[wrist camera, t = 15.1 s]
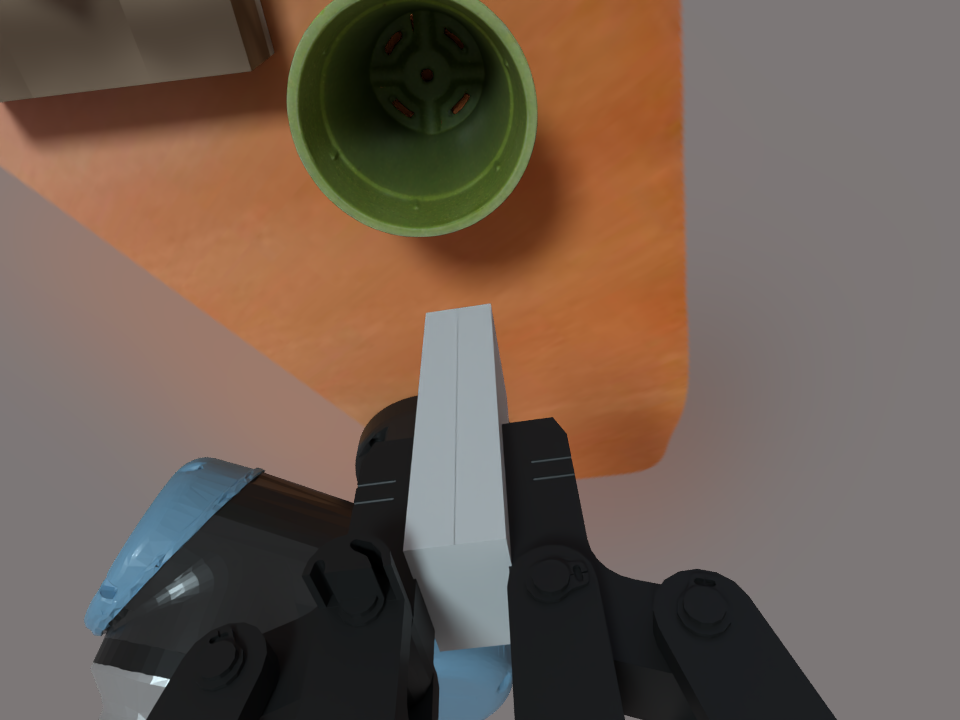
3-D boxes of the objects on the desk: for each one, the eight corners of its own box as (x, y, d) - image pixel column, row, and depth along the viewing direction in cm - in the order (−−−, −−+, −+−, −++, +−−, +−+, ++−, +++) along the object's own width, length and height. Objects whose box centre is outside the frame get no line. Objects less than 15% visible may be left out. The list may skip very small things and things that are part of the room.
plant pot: (546, -11, 36) (571, 19, 27) (494, 182, 43) (501, 258, 34) (341, -71, 34) (294, -59, 25) (321, 141, 41) (278, 210, 32)
